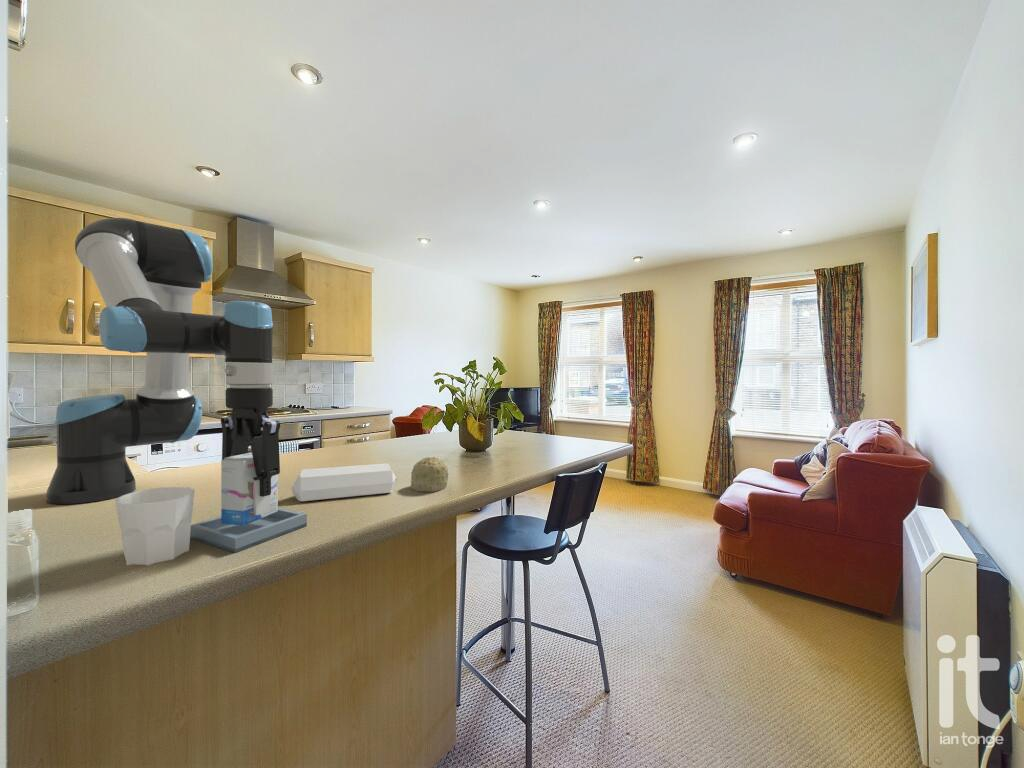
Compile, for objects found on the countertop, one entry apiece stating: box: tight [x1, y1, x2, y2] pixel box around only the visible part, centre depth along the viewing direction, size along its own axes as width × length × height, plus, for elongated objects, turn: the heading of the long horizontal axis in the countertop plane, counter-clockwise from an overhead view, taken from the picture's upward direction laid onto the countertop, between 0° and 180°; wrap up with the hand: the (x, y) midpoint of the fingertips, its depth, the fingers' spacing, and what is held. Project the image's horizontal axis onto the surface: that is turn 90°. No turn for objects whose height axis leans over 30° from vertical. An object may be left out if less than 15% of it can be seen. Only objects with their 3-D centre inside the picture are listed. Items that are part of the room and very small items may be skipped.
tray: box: [190, 507, 308, 554], centre depth 82 cm, size 13×14×2 cm
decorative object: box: [410, 456, 449, 493], centre depth 114 cm, size 9×10×10 cm
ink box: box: [220, 451, 279, 526], centre depth 82 cm, size 9×5×12 cm, turn 167°
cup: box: [114, 486, 195, 566], centre depth 72 cm, size 10×10×10 cm
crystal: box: [291, 462, 398, 503], centre depth 106 cm, size 7×7×24 cm
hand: (250, 510), depth 82 cm, fingers closed on ink box, 6 cm apart
